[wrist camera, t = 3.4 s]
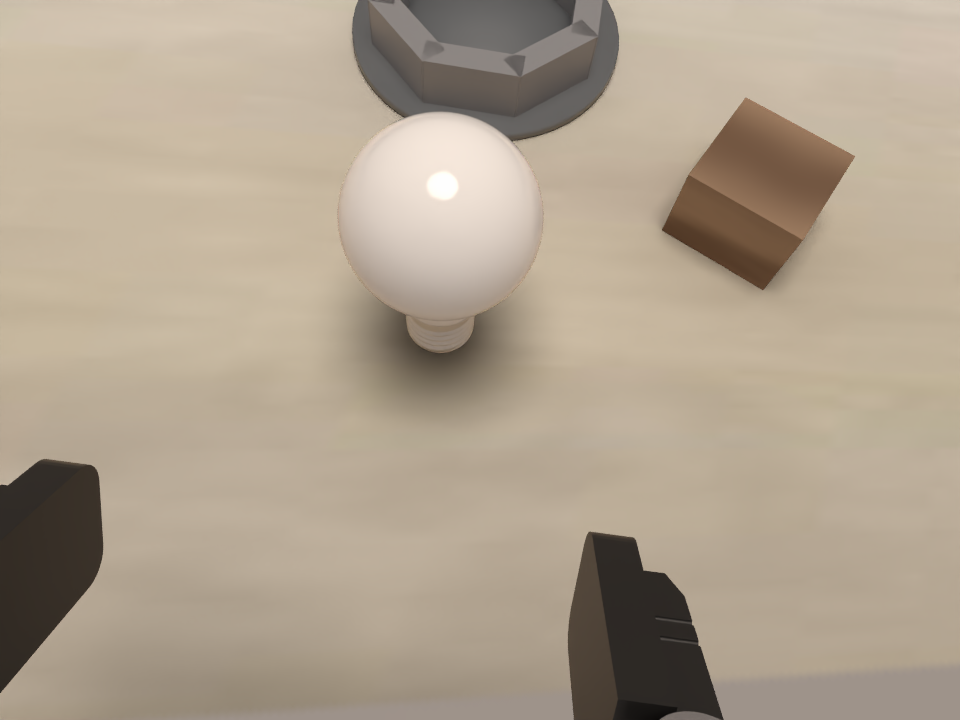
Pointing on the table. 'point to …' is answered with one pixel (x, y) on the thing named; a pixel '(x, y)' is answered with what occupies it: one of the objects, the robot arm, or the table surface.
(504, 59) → the socket collar
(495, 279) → the lightbulb
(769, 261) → the walnut block
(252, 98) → the table surface
